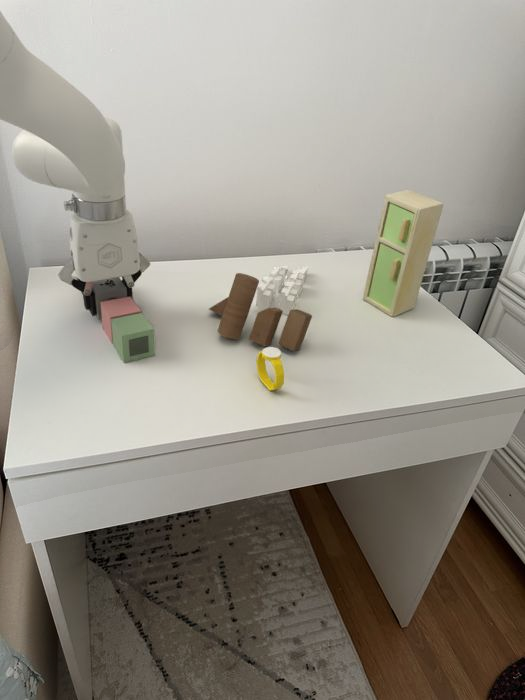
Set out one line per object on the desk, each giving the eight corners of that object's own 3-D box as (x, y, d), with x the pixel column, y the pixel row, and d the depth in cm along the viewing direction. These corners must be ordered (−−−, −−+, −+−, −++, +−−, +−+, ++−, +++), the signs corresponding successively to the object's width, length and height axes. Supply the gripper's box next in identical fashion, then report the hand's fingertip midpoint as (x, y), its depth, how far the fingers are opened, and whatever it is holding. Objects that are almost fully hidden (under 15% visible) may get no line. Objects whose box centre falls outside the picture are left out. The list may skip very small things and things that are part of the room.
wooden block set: (300, 357, 91) (322, 300, 88) (281, 363, 83) (303, 301, 80) (214, 317, 97) (231, 263, 94) (188, 320, 89) (206, 261, 86)
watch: (286, 394, 79) (291, 362, 75) (270, 399, 77) (274, 366, 74) (266, 370, 83) (270, 339, 79) (251, 375, 82) (254, 343, 78)
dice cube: (128, 313, 91) (126, 288, 88) (98, 319, 89) (95, 293, 86) (119, 299, 94) (117, 274, 91) (90, 305, 92) (87, 279, 89)
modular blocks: (290, 316, 97) (293, 297, 94) (254, 307, 98) (256, 289, 96) (310, 270, 113) (313, 253, 110) (279, 263, 114) (281, 246, 111)
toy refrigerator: (358, 299, 104) (382, 194, 92) (383, 291, 108) (409, 188, 96) (389, 318, 99) (418, 210, 87) (414, 309, 103) (445, 203, 91)
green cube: (124, 363, 81) (122, 336, 78) (113, 345, 85) (111, 319, 82) (155, 355, 83) (154, 329, 80) (143, 338, 87) (142, 312, 84)
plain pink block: (112, 344, 85) (110, 317, 82) (102, 328, 88) (100, 301, 85) (142, 337, 87) (141, 311, 84) (132, 321, 91) (130, 296, 88)
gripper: (47, 221, 74) (63, 330, 85) (162, 208, 82) (164, 309, 93) (35, 202, 80) (52, 307, 90) (145, 192, 87) (148, 289, 98)
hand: (109, 307), depth 91 cm, fingers closed on dice cube, 5 cm apart
